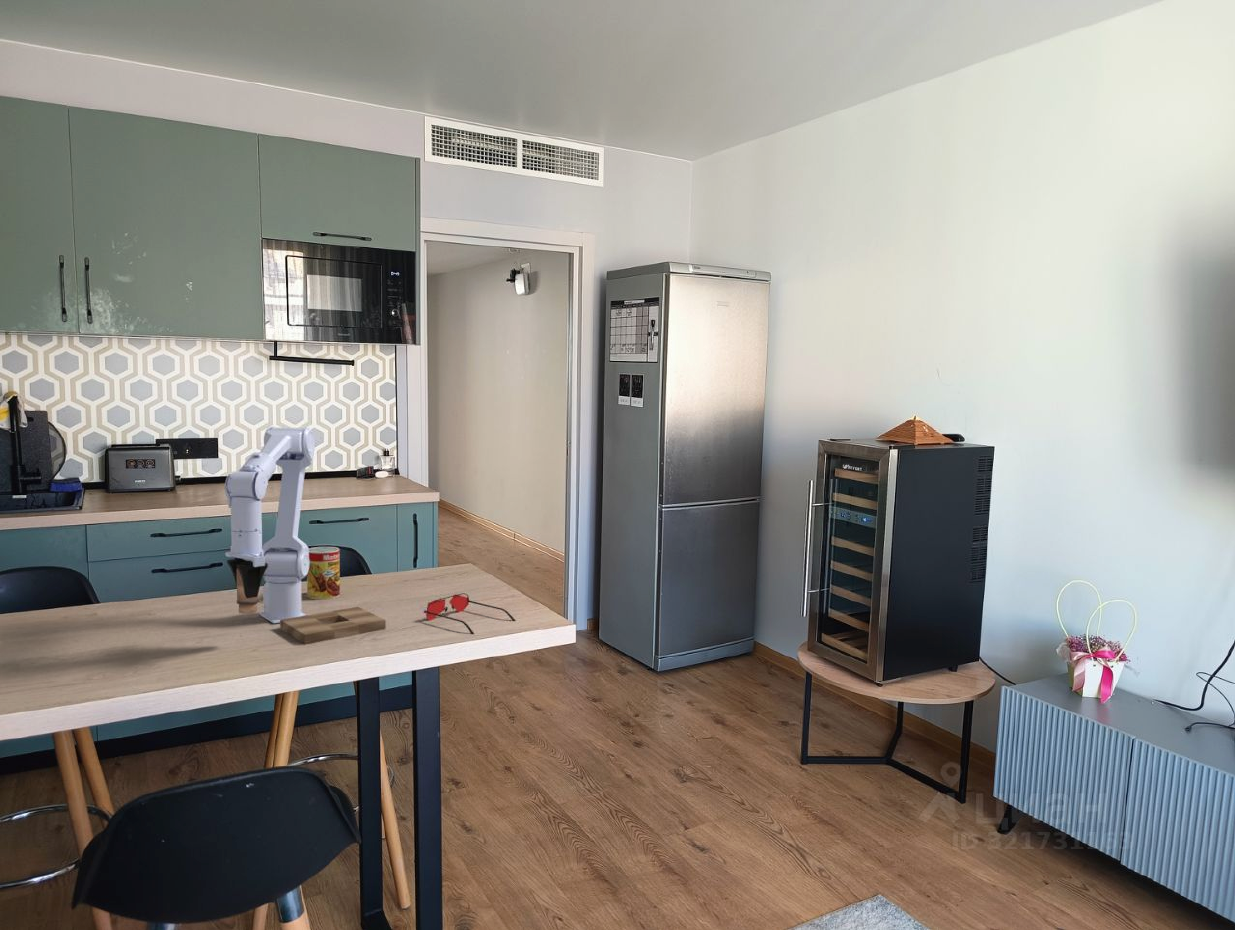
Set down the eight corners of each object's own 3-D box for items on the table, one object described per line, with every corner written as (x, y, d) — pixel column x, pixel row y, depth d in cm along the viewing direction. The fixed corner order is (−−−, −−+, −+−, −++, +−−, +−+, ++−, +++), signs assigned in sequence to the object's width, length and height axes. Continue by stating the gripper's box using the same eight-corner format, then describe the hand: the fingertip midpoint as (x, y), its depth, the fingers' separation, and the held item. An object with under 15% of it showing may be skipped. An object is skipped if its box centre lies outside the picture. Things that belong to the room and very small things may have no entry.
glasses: (466, 610, 200) (466, 590, 200) (516, 622, 191) (516, 601, 190) (422, 622, 189) (422, 601, 189) (473, 636, 180) (473, 614, 179)
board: (280, 628, 180) (280, 619, 180) (357, 614, 192) (357, 606, 192) (305, 644, 170) (305, 634, 170) (385, 628, 182) (385, 619, 182)
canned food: (333, 599, 205) (333, 552, 204) (302, 599, 205) (301, 552, 204) (344, 592, 213) (343, 546, 212) (314, 591, 213) (313, 546, 212)
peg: (234, 610, 169) (233, 567, 168) (255, 607, 171) (254, 565, 171) (240, 615, 165) (240, 571, 165) (262, 611, 168) (261, 568, 167)
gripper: (214, 526, 169) (215, 590, 171) (237, 537, 159) (239, 605, 160) (249, 523, 174) (251, 586, 175) (274, 533, 164) (275, 599, 165)
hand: (247, 595), depth 168 cm, fingers closed on peg, 4 cm apart
